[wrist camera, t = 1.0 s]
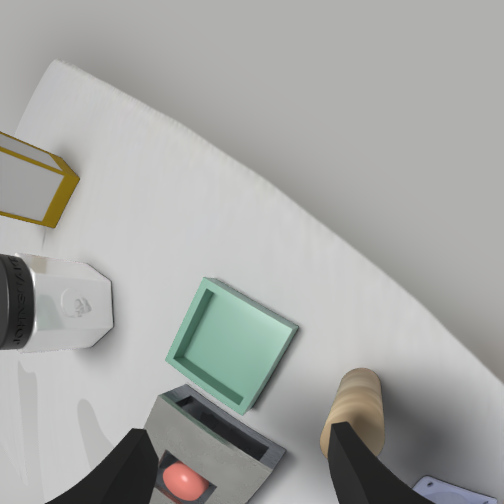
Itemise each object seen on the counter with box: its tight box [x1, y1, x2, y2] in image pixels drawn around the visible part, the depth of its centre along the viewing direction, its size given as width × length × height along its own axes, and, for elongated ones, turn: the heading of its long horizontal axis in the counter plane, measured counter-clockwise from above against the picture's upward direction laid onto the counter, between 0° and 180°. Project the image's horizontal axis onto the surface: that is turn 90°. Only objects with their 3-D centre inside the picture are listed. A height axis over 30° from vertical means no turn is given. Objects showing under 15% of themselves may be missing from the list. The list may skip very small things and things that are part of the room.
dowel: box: [320, 368, 385, 459], centre depth 16 cm, size 3×3×9 cm
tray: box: [165, 277, 298, 416], centre depth 23 cm, size 8×8×2 cm
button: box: [163, 460, 209, 501], centre depth 20 cm, size 4×4×1 cm
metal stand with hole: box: [143, 384, 286, 504], centre depth 21 cm, size 10×13×4 cm
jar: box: [0, 253, 113, 354], centre depth 25 cm, size 9×8×12 cm
